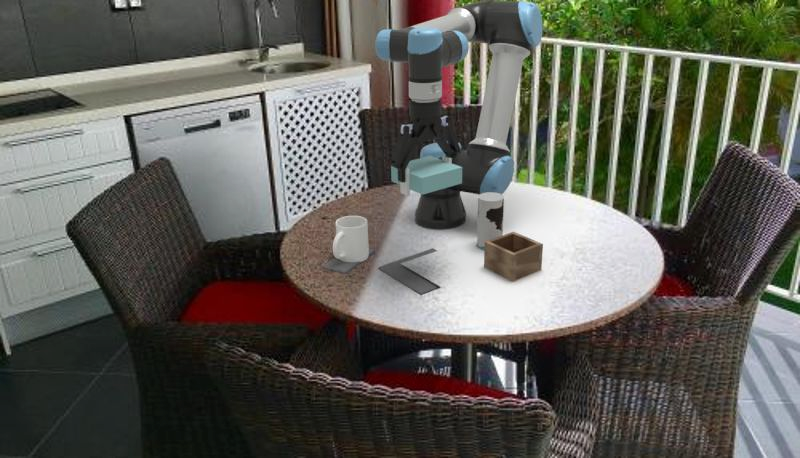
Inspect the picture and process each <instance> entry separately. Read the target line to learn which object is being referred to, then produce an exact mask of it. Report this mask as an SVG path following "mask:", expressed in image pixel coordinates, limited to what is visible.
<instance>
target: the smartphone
mask: <svg viewBox="0 0 800 458" xmlns="http://www.w3.org/2000/svg"><path fill="white" fill-rule="evenodd" d="M375 252H376V251H375V249H373V248H370V247H369V256H368V258H369V257H371V256H372V255H373V254H374V253H375ZM361 263H362V262H344V261H342V260H340V259H337V258H336V257H335V256H334V257H333V258H331V260H328V261H327V262H325V264H324V265H322V269H323V270H328V271H330V272H331V271H333V272H335V273H339V274H343V275H344V274H348V273H349V272H351V271H352V270H353V269H354V268H356V267H357V266H359V265H360V264H361Z"/></svg>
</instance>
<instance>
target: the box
mask: <svg viewBox="0 0 800 458" xmlns="http://www.w3.org/2000/svg"><path fill="white" fill-rule="evenodd" d="M543 249H544V243H542V242H539V241H536V240H534V239H532V238H529V237H527V236H525V235H523V234H520V233H518V232H515V231H511V232H508V233H505V234H503V236H500V237H497V238H494V239H491V240H488V241H486V242H485V248H484V250H483V251H484V256H483V258H484V261H483V262H484V263H483V268H484V269H486V270H489V271H490V272H492V273H494V274H497V275H498V276H500V277H502V278H505V279H506V280H508V281H510V282H512V283H514V282H515V281H518V280H520V279H523V278H525V277H527V276H530V275H533V274H536V273H537V272H539V271H542V268H543V267H542V266H543V265H542V264H543Z"/></svg>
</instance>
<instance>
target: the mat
mask: <svg viewBox="0 0 800 458" xmlns="http://www.w3.org/2000/svg"><path fill="white" fill-rule="evenodd" d="M435 252H438V250H437V249H436V248H429V249H427V250H424V251H421V252H417V253H415V254H413V255H409V256H405V257H404V258H400V259H397V260H394V261H392V262H389V263H386V264H383V265H381V266H378V267H377V269H378V270H380V271H382V272H383V273H385V275H386V274H387V275H388V276H390V277H391V278H393V279H394V280H396V281H398V282H399V283H401V284H403V285H404V286H406V287H408V288H409V289H411V290H412V291H414V292H416V293H417V294H419V295H421V296H423V295H424V294H427V293H430V292H433V291H435V290H438V289H441V288H442V287H441V286H440V285H438V284H436V283H435V282H433V281H431V280H430V279H427V277H424V276H422V274H419V273H418V272H416V271H414V270H412V269H410V268H409V267H407V266H405V265H404V264H403V263H407V262H409V261H413V260H416V259H418V258H420V257H424V256H426V255H429V254H433V253H435Z"/></svg>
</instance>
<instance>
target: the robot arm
mask: <svg viewBox="0 0 800 458" xmlns="http://www.w3.org/2000/svg"><path fill="white" fill-rule="evenodd" d="M542 17H543V16H542V13H541V10H540V8H539V6H538V4H536V3H535V2H531V1H524V0H518V1H515V0H513V1H512V0H480V1H476V2H472V3H468V4H465V5H462V6H459V7H454V8H452V9H451V10H450V11H449V12H448V13H447V14H446V15H443V16H440V17H436V18H433V19H431V20H427V21H424V22H421V23H417V24H414V25H412V26H408V27H405V28H401V29H393V28H389V29H383V30H380V31H379V32H378V34H377V36H376V38H375V41H374V42H375V43H374V45H375V46H374V47H375V49H374V50H375V53H376V55H377V57H378V59H379V60H381V61H385V62H390V63H406V64H407V63H408V97H409V102H408V109H409V110H408V111H409V112H408V114H409V116H410V123H408V124H402V123H400V124H398V125H399V126H398V135H397V138H396V142H395V146H394V149H393V152H392V156H391V157H390V158H391V159H390V161H389V166H390V167H391V166H392V167H395V168H397V169H398V181H399V182H400V185H399V187H400V188H399V189H400V194H401V195H404V196H406V197H410V196H411V190H410V176H409V169H408V168H407V166H408V164H409V162H410V161H411V160H412V158H413V156H414V154H415V153H416V151H417V148H418V146H419V145H420V144H422V142H423V141H427V140H428V139H430V140H432V139H434V141H435V142H433V143H429V144H427V145H424V146H423V147H422V148H421V150H420V155H419V158H423V157H427V156H432V157H435V158H438V159H441V160H443V161H446V162H449V163H452V164H455V165H457V166H460V167H462V183H461V184H458V185H454V186H451V187H447V188H444V189H441V190H437V191H434V192H430V193H427V194H423V195H422V194H420V196H419V200H418V203H417V208H416V209H415V212H414V221H415V223H416V224H418V225H419V226H421V227H423V228H428V229H431V230H432V229H434V230H446V229H447V230H448V229H453V228H458V227H460V226H462V225H463V224H465V222H466V221H467V211H466V209H465V205H464V202H463V199H462V196H461V192H462V193H468V194H473V195H477V196H478V195H479V194H482V193H486V192H494V193H499V194H502V195H504V194H505V192H506V191H507V190H508V188H509V186H510V184H511V182H512V180H513V177H514V172H515V161H514V159H513V157H511V156H510V152H511V150H510V149H509V147H508V145H507V140H508V135H509V130H510V125H511V120H512V116H513V113H514V112H513V111H514V107H515V101H516V97H517V92H518V88H519V83H520V77H521V73H522V68H523V63H524V60H525V59H526V58H528V57H530V55H531V51H532V48H535V47H537V46H540V44H541V41H542V38H543V32H544V31H543V30H544V29H543V18H542ZM469 43H477V44H478V43H479V44H487V45H488V49H489V50H490V52H491V53H492V56H491V61H490V65H489V71H488V76H487V81H486V85H485V91H484V95H483V100H482V105H481V109H480V115H479V118H478V120H479V121H478V125H477V130H476V132H475V133H476V135H475V138H474V139H473V140H471V141H470V142H469V143H468V145H467V146H468V147H467V149H466V150H465V149H462V145H461V143H460V142H458V138H457V136H456V133H455V131H454V127H453V118H452V117H451V116H448V115H444V114H443V100H442V99H441V98H442V97H443V68H446V67H449V66H453V65H456V64H458V63H460V62H461V61H464V59H465V58H466V57H467V55H469V54H468V53H469V49H470V45H469ZM440 128H442V131H443V133H444V134H443V133H442V131H441V129H440ZM444 135H445V137H444Z"/></svg>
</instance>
